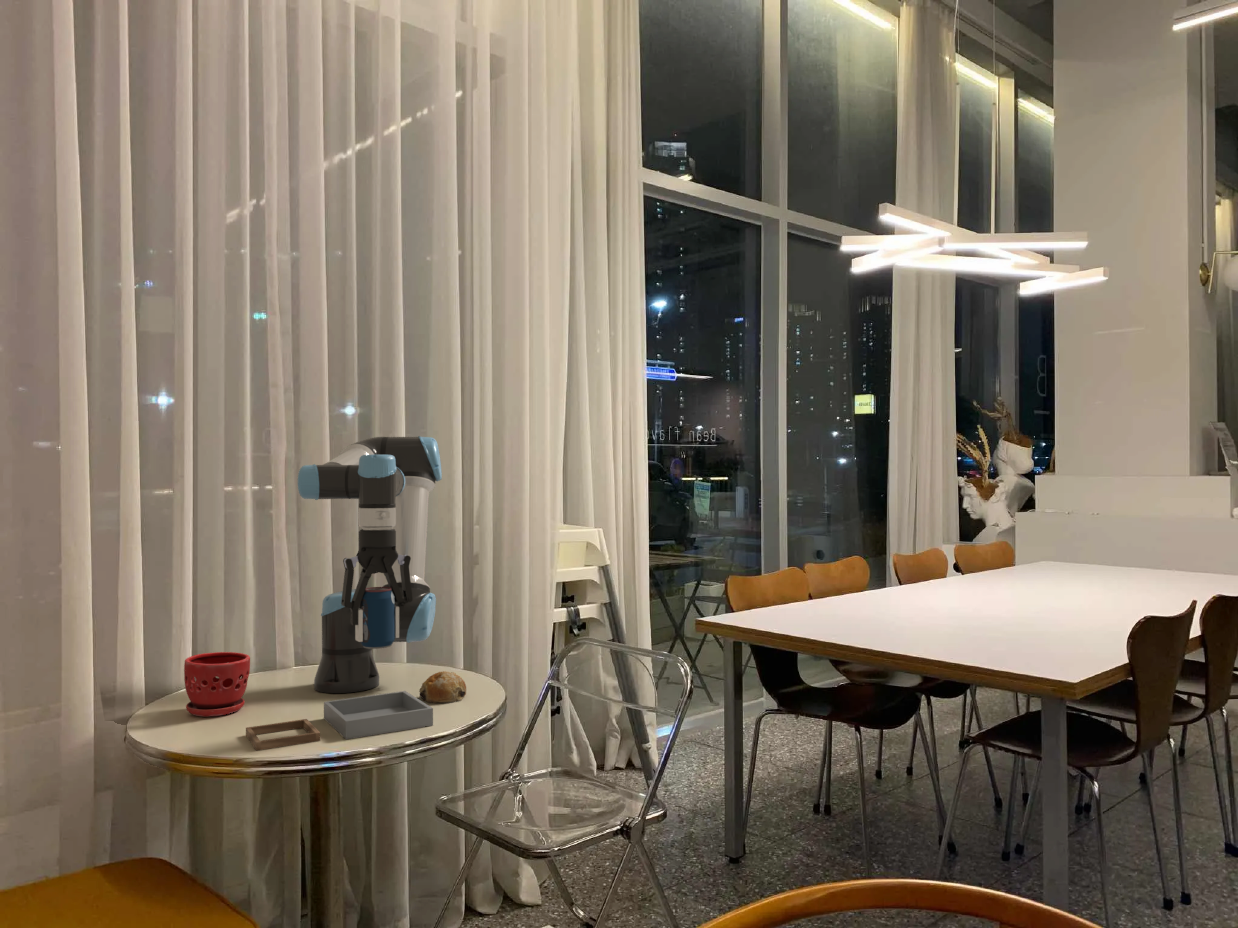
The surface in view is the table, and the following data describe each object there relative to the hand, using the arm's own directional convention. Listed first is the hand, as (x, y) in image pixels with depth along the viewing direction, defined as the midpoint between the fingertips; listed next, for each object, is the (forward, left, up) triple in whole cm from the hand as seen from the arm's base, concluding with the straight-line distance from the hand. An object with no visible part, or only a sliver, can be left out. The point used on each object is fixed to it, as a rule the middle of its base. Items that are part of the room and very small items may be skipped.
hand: (377, 638), depth 184 cm
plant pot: (-27, -27, -18) cm, 42 cm away
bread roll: (-11, +19, -18) cm, 28 cm away
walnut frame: (+1, -19, -17) cm, 26 cm away
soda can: (0, 0, -2) cm, 2 cm away
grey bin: (0, 0, -17) cm, 17 cm away
